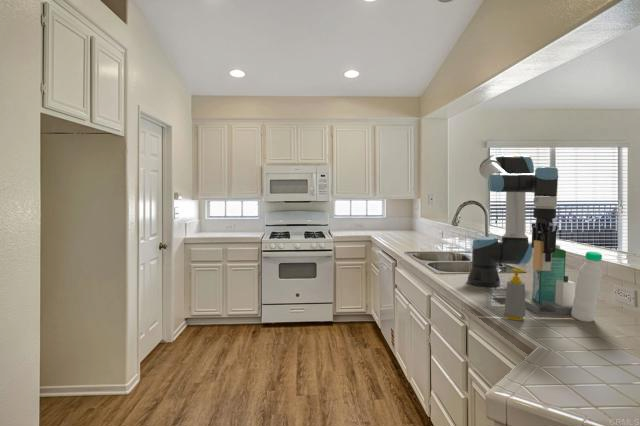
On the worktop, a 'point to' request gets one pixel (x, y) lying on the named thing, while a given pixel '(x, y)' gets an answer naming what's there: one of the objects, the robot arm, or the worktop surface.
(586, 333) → the worktop surface
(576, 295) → the water bottle
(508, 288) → the soap bottle
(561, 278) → the milk carton
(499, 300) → the mat
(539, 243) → the plug
